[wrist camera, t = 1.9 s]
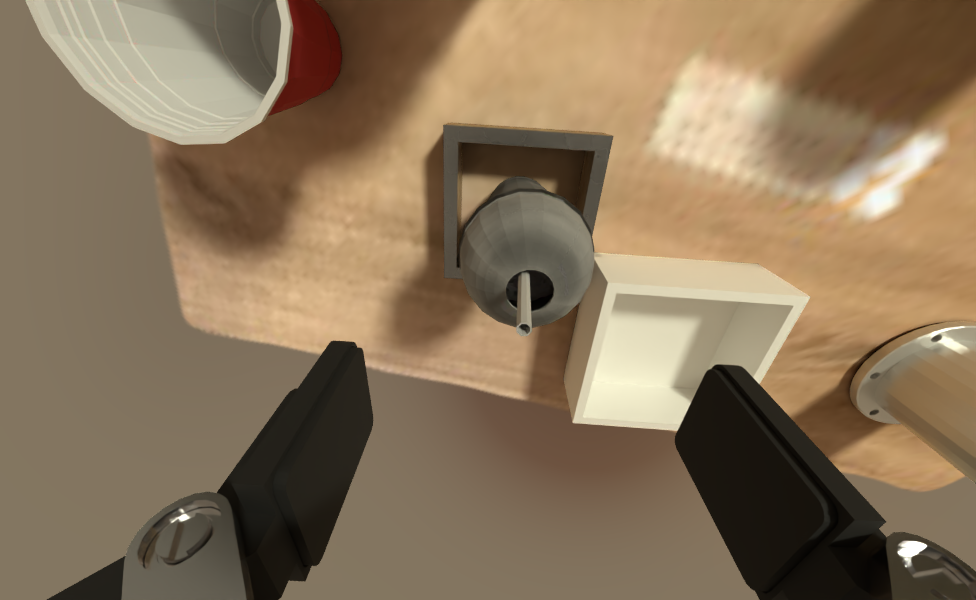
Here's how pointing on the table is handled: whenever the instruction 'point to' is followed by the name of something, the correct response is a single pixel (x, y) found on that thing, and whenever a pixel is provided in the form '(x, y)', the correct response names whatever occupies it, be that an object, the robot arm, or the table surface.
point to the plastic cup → (194, 60)
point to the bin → (670, 334)
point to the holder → (517, 136)
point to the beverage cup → (526, 255)
